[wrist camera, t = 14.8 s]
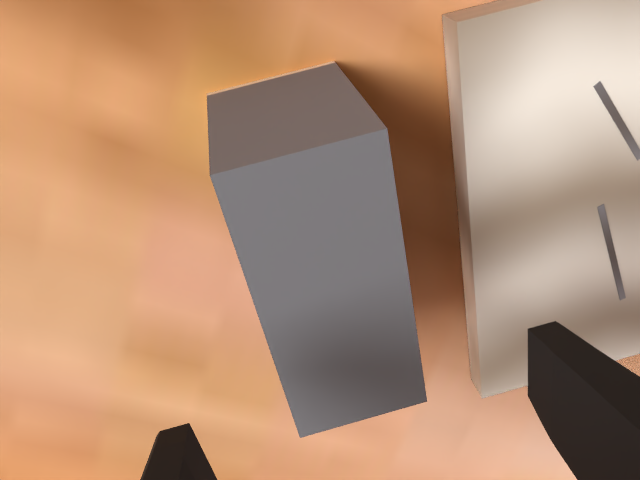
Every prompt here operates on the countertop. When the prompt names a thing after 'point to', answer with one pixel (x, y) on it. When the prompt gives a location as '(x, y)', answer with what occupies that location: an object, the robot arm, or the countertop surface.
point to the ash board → (546, 176)
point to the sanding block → (319, 242)
